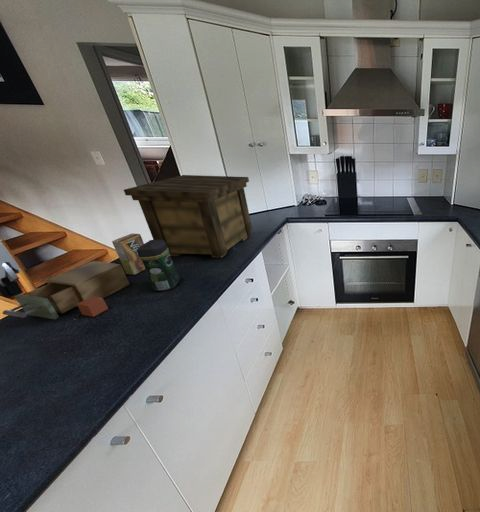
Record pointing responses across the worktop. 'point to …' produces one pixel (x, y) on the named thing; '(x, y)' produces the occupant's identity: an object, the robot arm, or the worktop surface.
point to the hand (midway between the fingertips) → (13, 294)
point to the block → (92, 306)
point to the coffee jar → (158, 265)
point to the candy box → (129, 253)
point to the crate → (196, 212)
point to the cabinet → (94, 279)
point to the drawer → (47, 301)
